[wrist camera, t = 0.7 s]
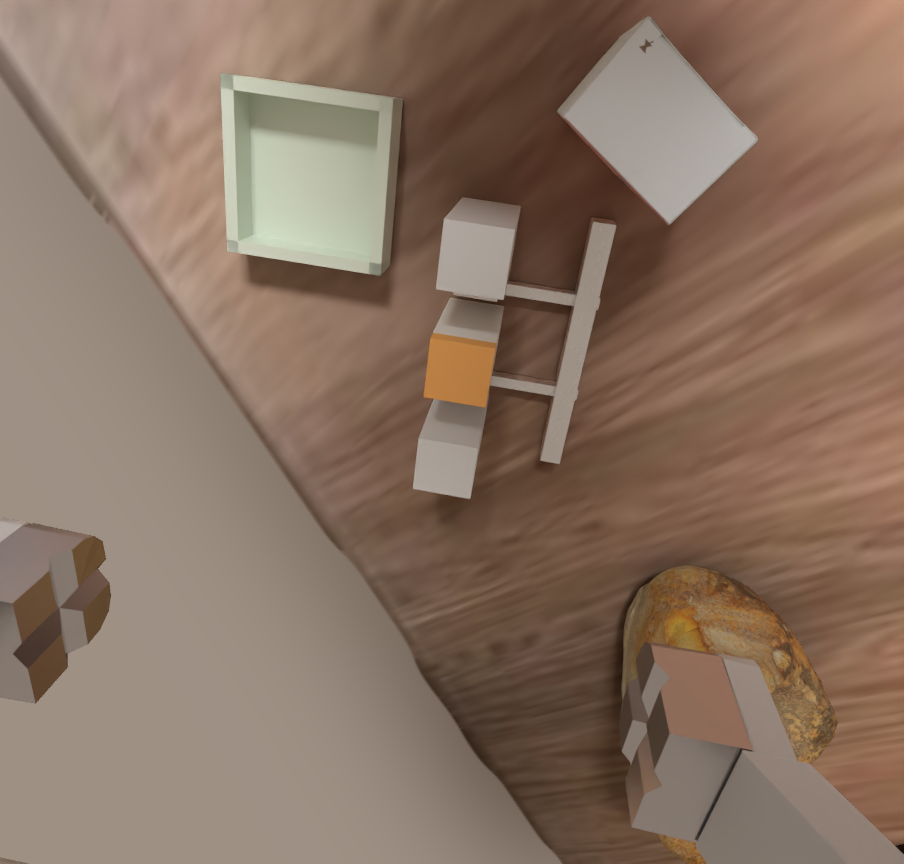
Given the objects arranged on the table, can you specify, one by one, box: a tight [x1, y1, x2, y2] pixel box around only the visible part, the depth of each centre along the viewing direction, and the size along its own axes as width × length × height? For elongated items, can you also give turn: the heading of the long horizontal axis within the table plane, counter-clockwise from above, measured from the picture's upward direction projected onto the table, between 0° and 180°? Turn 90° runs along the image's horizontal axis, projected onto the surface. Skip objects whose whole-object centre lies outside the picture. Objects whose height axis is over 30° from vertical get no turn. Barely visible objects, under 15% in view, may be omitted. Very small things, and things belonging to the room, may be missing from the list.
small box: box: [557, 16, 758, 225], centre depth 36 cm, size 8×6×10 cm
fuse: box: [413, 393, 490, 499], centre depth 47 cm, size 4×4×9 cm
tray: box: [220, 73, 403, 276], centre depth 43 cm, size 11×11×3 cm
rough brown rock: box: [621, 565, 838, 864], centre depth 53 cm, size 23×17×15 cm
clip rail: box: [453, 217, 617, 464], centre depth 46 cm, size 18×10×3 cm, turn 173°
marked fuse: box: [424, 297, 504, 408], centre depth 44 cm, size 4×4×9 cm
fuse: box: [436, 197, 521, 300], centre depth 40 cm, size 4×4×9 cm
